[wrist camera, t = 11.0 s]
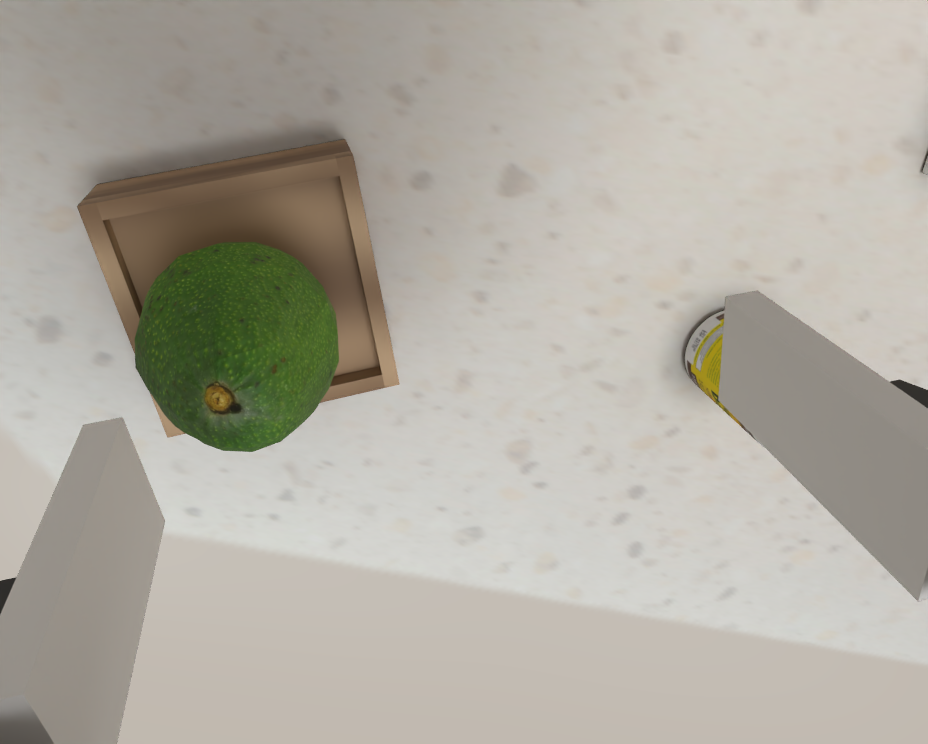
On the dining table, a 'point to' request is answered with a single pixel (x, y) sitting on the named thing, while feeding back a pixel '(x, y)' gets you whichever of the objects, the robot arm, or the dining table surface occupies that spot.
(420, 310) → the dining table surface
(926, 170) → the skincare box
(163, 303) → the avocado
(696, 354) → the supplement bottle
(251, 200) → the wooden tray
